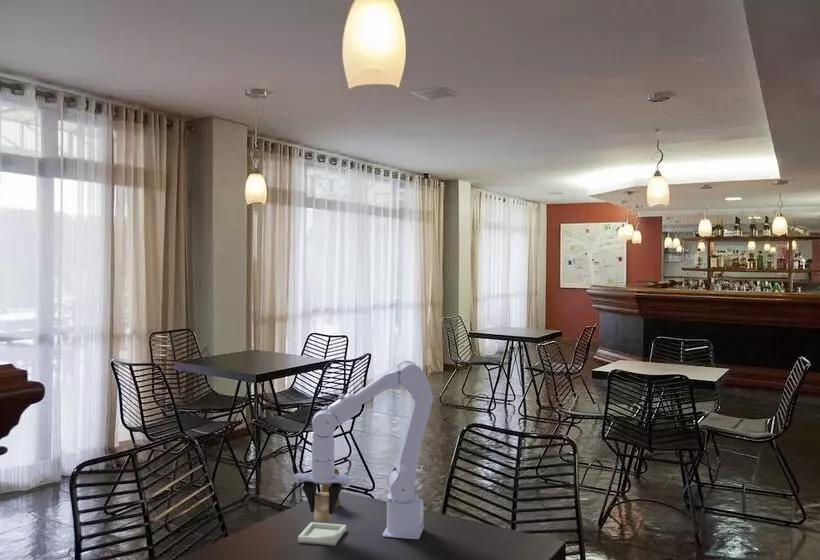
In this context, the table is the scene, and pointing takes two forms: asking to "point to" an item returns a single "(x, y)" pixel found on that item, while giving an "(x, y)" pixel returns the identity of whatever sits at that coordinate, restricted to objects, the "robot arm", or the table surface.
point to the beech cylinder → (322, 507)
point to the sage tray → (322, 533)
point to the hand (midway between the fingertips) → (322, 512)
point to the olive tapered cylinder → (326, 486)
